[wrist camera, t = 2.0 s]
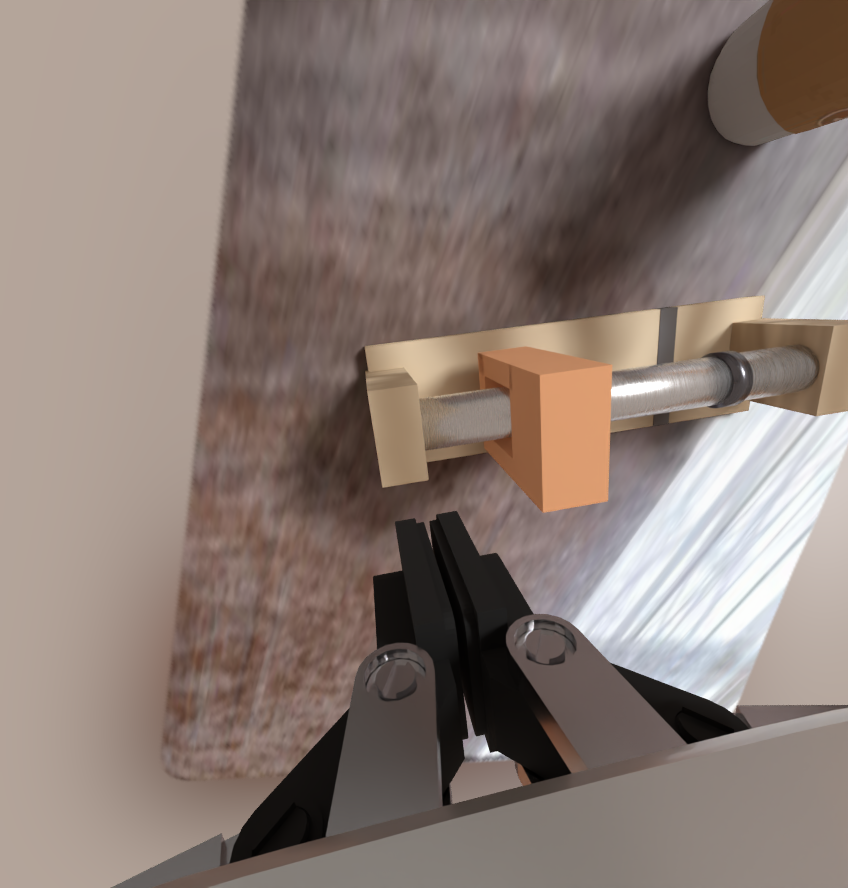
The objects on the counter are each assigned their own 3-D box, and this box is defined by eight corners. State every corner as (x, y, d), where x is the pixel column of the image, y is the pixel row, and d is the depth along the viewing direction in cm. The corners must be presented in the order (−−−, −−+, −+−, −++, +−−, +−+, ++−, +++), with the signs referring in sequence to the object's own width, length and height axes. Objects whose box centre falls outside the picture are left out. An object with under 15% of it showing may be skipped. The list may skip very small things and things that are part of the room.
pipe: (397, 447, 24) (403, 467, 21) (390, 393, 23) (394, 405, 20) (782, 387, 27) (835, 397, 24) (790, 336, 26) (847, 340, 23)
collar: (484, 448, 26) (543, 512, 18) (477, 352, 25) (539, 375, 16) (529, 440, 27) (607, 500, 18) (526, 346, 25) (612, 364, 16)
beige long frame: (380, 465, 28) (386, 513, 22) (361, 346, 26) (362, 359, 19) (741, 407, 31) (847, 434, 25) (756, 295, 29) (879, 291, 22)
